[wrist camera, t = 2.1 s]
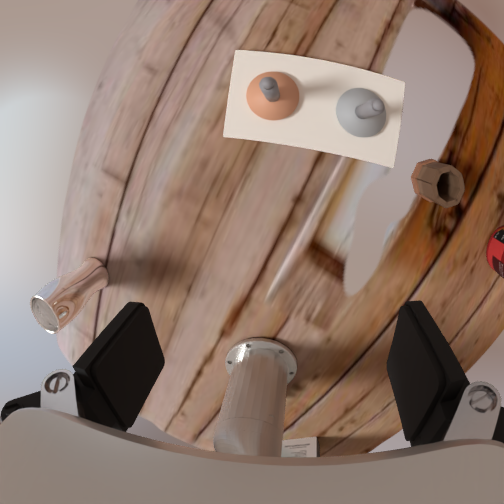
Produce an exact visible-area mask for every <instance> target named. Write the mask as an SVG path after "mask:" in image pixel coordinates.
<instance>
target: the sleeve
mask: <svg viewBox="0 0 504 504" xmlns="http://www.w3.org/2000/svg"><path fill="white" fill-rule="evenodd" d="M411 179H412V183H413V188H414V191H415V193H416V194H418V195H419V196H421V197H422V198H424V199H425V200H427V201H429V202H435V203H437V204H439V205H441V206H443V207H445V208H448V207H451V206H454V205H457V204H458V203H459V202H460V200H461V197H462V195H463V193H464V191H465V190H464V189H465V187H464V181H463V176H462V174H461V173H460V172H459V171H458V170H457V169H455V168H454V167H453V166H452V165H448V164H443V163H438V162H437V161H436V160H433V159H428V160H425V161H422V162H418V163H417V165H416V167H415V169H414V172H413V173H412V176H411ZM438 180H439V181H440V182H439V184H438V186H436V184H437V182H438Z"/></svg>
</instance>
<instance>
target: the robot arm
mask: <svg viewBox="0 0 504 504" xmlns="http://www.w3.org/2000/svg"><path fill="white" fill-rule="evenodd" d="M164 363H165V359H164V356H163V353H162V350H161V347H160V344H159V341H158V338H157V335H156V332H155V328H154V325H153V322H152V319H151V315H150V312H149V309H148V307H145V305H144V304H143V303H140V302H128V303H127V304H126V305H125V306H124V308H123V309H122V310H121V311H120V312H119V313H118V314H117V315H116V316H115V318H114V319H113V320H112V321H111V322H110V323H109V324H108V325H107V327H106V328H105V329H104V330H103V331H102V332H101V333H100V335H99V336H98V337H97V338H96V339H95V340H94V342H93V343H92V344H91V345H90V346H89V347H88V349H87V350H86V351H85V352H84V353H83V355H82V356H81V357H80V358H79V359H78V361H77V362H76V363H75V364H74V365H73V368H74V370H75V371H76V372H75V373H74V374H72V373H71V372H70V371H68V370H66V369H60V370H56V371H53V372H51V373H50V374H48V375H47V376H46V377H45V378H44V380H43V382H42V385H41V391H38V392H35V393H32V394H29V395H26V396H23V397H20V398H17V399H13V400H11V401H9V402H7V403H6V404H5V406H4V407H3V409H2V411H1V417H0V504H504V407H501V397H500V394H499V392H498V390H497V389H496V388H495V387H494V386H493V385H491V384H489V383H486V382H474V383H472V384H470V383H469V381H468V379H467V377H466V375H465V373H464V371H463V369H462V367H461V366H460V364H459V362H458V360H457V358H456V356H455V355H454V353H453V351H452V349H451V348H450V346H449V344H448V342H447V341H446V339H445V337H444V336H443V335H442V333H441V331H440V329H439V328H438V326H437V325H436V323H435V321H434V320H433V318H432V316H431V315H430V313H429V312H428V310H427V309H426V307H425V306H424V304H423V302H422V301H407V302H406V303H405V305H404V306H401V307H400V310H399V315H398V320H397V324H396V329H395V333H394V337H393V341H392V345H391V349H390V353H389V356H388V360H387V371H388V375H389V378H390V382H391V385H392V389H393V392H394V396H395V400H396V403H397V407H398V411H399V415H400V419H401V423H402V427H403V431H404V435H405V439H406V441H410V443H411V447H409V448H404V449H397V450H391V451H384V452H376V453H367V454H358V455H347V456H333V457H281V452H282V440H283V428H284V416H285V404H286V390H287V384H288V383H290V382H291V381H292V379H293V378H294V376H295V375H296V371H297V361H296V358H295V356H294V354H293V353H292V351H291V350H290V349H289V348H287V347H286V346H285V345H283V344H281V343H279V342H277V341H274V340H271V339H266V338H251V339H246V340H243V341H240V342H238V343H237V344H235V345H234V346H233V347H232V348H231V349H230V350H229V352H228V354H227V357H226V361H225V364H226V369H227V372H228V373H229V375H230V379H229V382H228V386H227V389H226V393H225V397H224V400H223V404H222V407H221V410H220V414H219V417H218V421H217V424H216V428H215V432H214V436H213V444H214V448H215V451H216V452H214V451H208V450H201V449H195V448H189V447H184V446H179V445H174V444H170V443H165V442H161V441H156V440H152V439H148V438H145V437H141V436H137V435H133V434H130V433H127V432H126V431H127V429H128V428H130V427H132V425H133V424H134V422H135V420H136V418H137V416H138V414H139V412H140V410H141V408H142V406H143V405H144V403H145V401H146V399H147V397H148V395H149V393H150V391H151V389H152V387H153V386H154V384H155V382H156V380H157V378H158V376H159V374H160V372H161V371H162V369H163V367H164Z"/></svg>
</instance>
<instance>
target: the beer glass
mask: <svg viewBox="0 0 504 504" xmlns="http://www.w3.org/2000/svg"><path fill="white" fill-rule="evenodd" d="M108 281H109V276H108V272H107V269H106V267H105V266H104V265H103V263H102V262H101V261H99V260H98V259H96V258H88V259H87V260H85V261H84V262H83V264H82V265H81V266H80V267H79V268H77V269H76V270H74V271H72V272H69V273H67V274H64V275H62V276H60V277H58V278H56V279H54V280H52V281H51V282H49V283H48V284H47V285H45V286H44V287H43V288H42V289H41V290H39V291H38V292H37V293H36V294H35V295H34V296H33V297H32V298H31V301H30V305H31V310H32V313H33V315H34V317H35V319H36V320H37V322H38V323H39V324H40V325H41V326H42V327H43V328H44V329H45V330H46V331H48V332H50V333H52V334H56V333H58V332H59V331H60V330H61V329H62V328H64V327H65V326H66V325H67V324H69V323H70V322H71V321H72V320H73V319H74V318H75V317H76V316H77V315H78V314H79V313H80V312H81V310H82V309H83V308H84V306H85V305H86V303H87V302H88V300H89V299H90V298H91V296H92V295H93V294H94V293H95V292H97V291H99V290H101V289H103V288H104V287H105V286H106V285H107V284H108Z"/></svg>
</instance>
